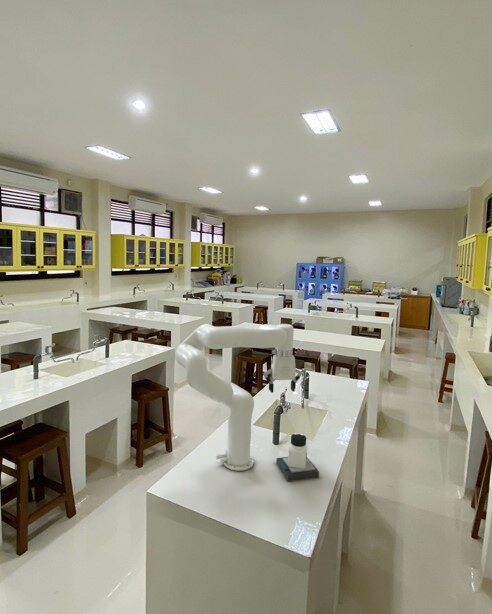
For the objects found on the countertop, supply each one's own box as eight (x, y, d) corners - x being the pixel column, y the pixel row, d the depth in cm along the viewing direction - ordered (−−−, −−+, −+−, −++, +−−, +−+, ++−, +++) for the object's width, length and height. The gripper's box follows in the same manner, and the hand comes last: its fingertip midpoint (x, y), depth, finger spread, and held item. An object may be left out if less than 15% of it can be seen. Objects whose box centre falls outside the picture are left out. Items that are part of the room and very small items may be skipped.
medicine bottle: (306, 469, 149) (307, 440, 147) (287, 466, 150) (289, 438, 148) (306, 459, 155) (307, 432, 154) (288, 457, 157) (290, 430, 155)
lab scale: (287, 481, 145) (288, 474, 145) (276, 463, 158) (276, 456, 157) (318, 477, 148) (319, 470, 148) (305, 460, 161) (305, 453, 160)
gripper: (266, 355, 156) (265, 395, 159) (306, 354, 160) (303, 393, 162) (262, 351, 164) (260, 389, 166) (299, 350, 167) (297, 387, 169)
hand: (282, 391), depth 164 cm, fingers open, 9 cm apart
